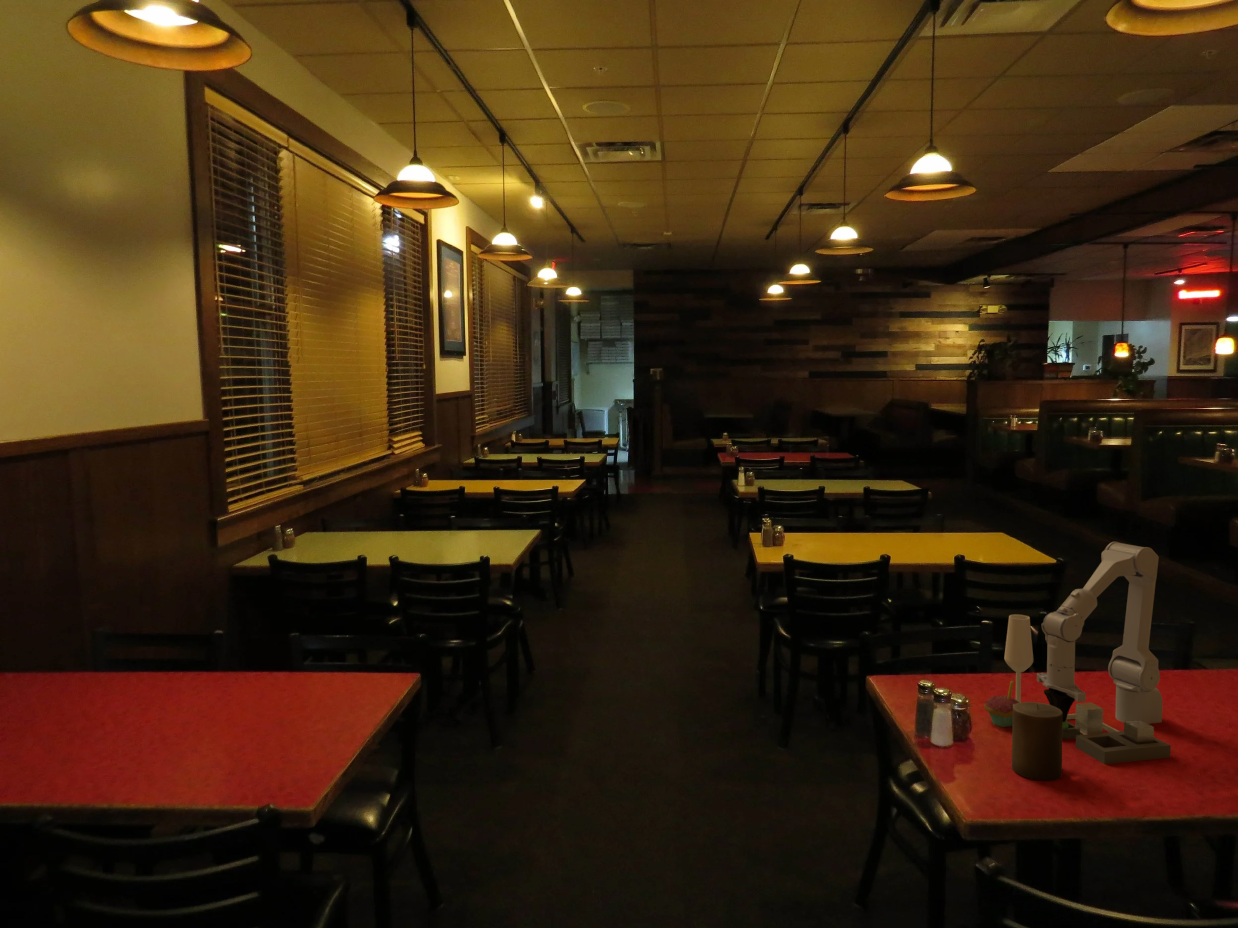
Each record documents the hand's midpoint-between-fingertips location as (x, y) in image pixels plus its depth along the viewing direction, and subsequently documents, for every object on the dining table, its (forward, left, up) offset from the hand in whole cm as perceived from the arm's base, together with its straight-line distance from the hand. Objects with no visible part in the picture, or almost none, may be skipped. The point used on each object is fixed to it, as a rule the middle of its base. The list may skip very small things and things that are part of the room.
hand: (1059, 720), depth 200 cm
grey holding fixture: (-7, +12, -4) cm, 14 cm away
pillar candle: (+16, +15, -4) cm, 23 cm away
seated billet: (-11, +12, -3) cm, 16 cm away
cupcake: (+8, -9, -4) cm, 13 cm away
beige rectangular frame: (-8, -1, -4) cm, 9 cm away
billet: (-8, -1, -3) cm, 9 cm away
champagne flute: (-2, -18, -4) cm, 18 cm away
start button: (0, 0, -4) cm, 4 cm away
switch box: (0, 0, -4) cm, 4 cm away
